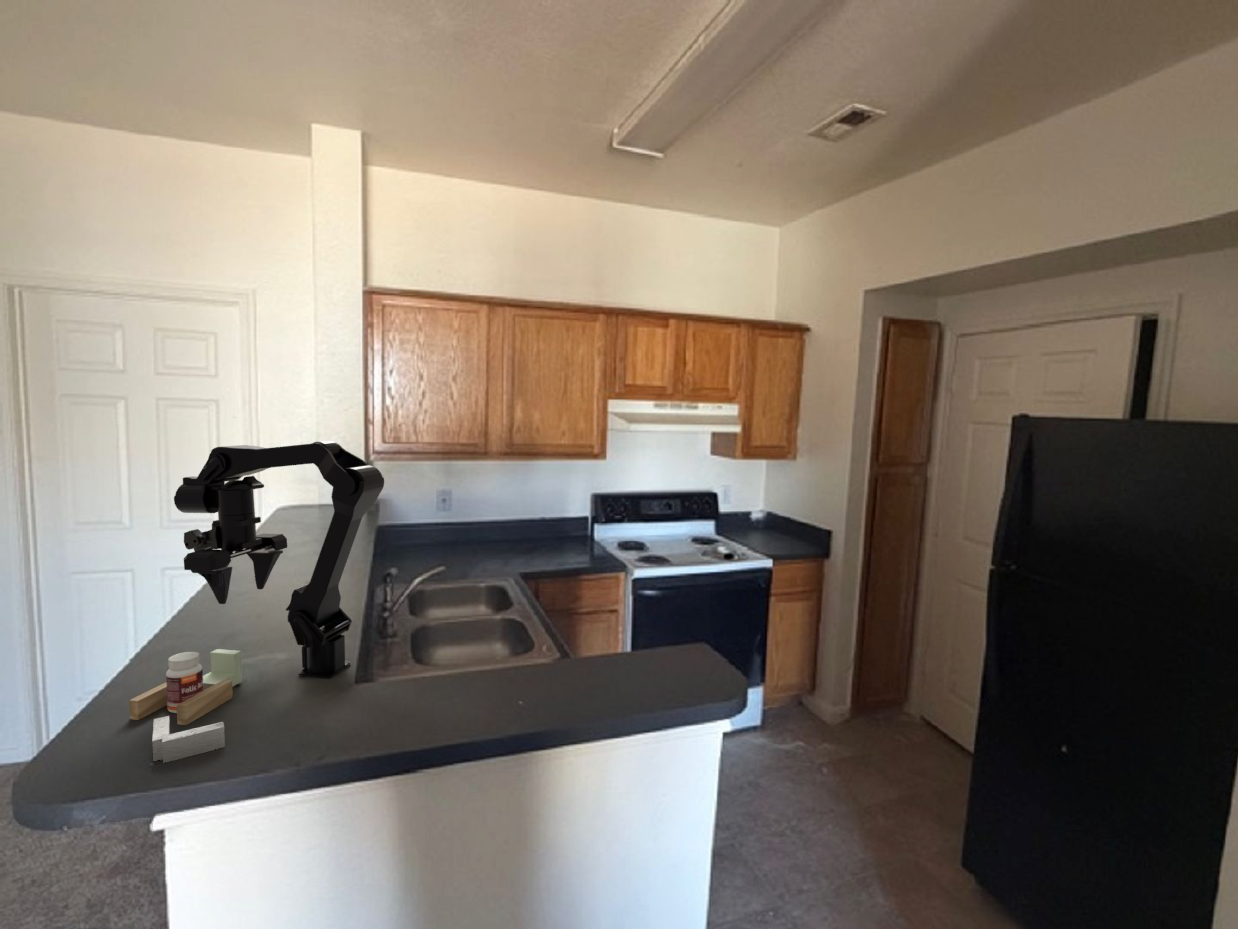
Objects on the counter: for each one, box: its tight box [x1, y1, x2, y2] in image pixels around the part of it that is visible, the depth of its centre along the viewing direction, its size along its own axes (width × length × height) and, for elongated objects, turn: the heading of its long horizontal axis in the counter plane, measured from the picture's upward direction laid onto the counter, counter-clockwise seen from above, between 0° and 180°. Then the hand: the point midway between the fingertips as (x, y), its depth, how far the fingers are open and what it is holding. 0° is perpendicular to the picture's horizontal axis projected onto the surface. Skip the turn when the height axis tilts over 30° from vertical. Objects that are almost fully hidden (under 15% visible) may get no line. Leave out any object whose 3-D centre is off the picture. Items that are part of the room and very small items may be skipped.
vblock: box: [151, 715, 226, 764], centre depth 84 cm, size 11×6×3 cm, turn 81°
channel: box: [128, 680, 234, 726], centre depth 96 cm, size 10×9×3 cm
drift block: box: [203, 648, 243, 691], centre depth 103 cm, size 5×6×6 cm
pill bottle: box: [165, 651, 204, 714], centre depth 96 cm, size 5×5×8 cm
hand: (242, 596), depth 112 cm, fingers open, 9 cm apart
